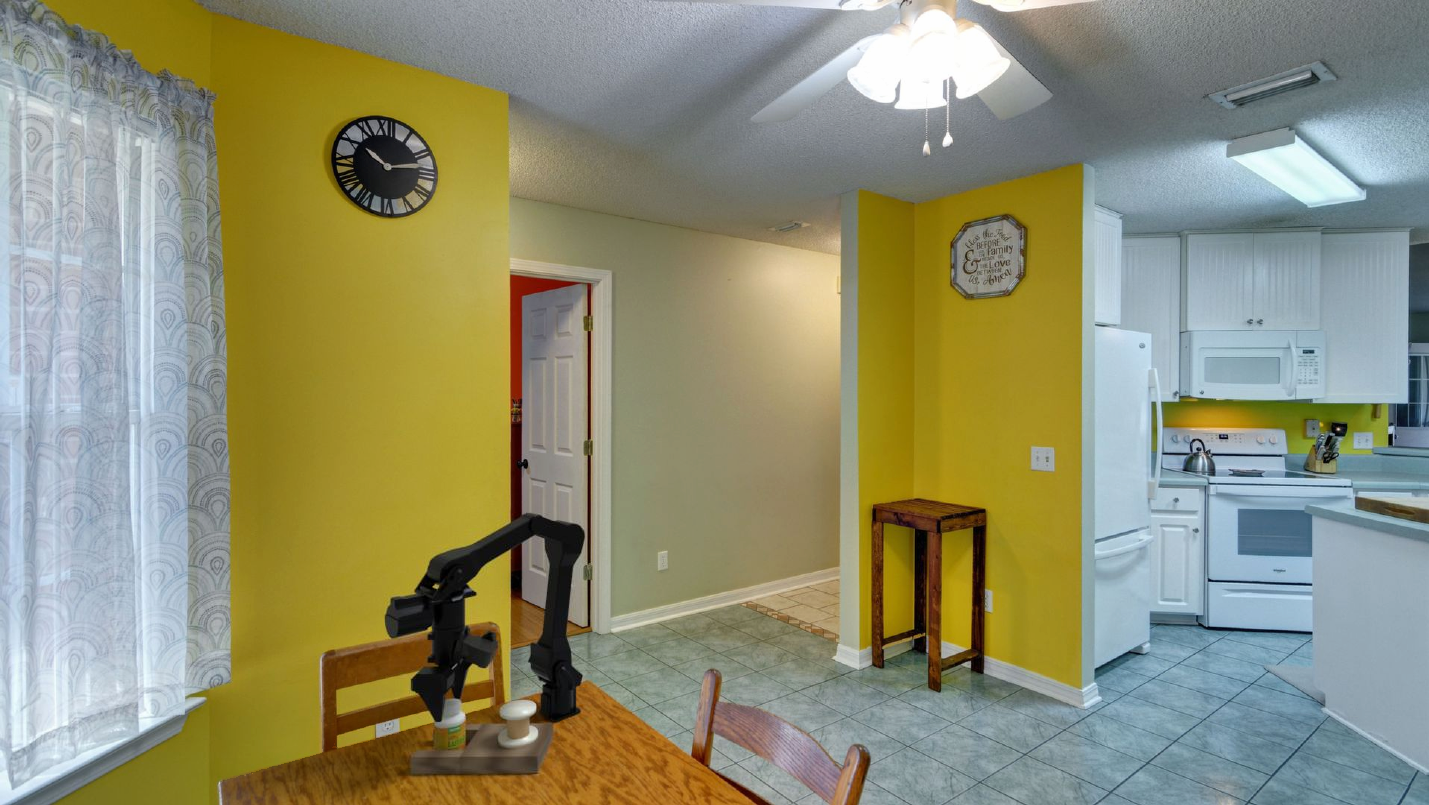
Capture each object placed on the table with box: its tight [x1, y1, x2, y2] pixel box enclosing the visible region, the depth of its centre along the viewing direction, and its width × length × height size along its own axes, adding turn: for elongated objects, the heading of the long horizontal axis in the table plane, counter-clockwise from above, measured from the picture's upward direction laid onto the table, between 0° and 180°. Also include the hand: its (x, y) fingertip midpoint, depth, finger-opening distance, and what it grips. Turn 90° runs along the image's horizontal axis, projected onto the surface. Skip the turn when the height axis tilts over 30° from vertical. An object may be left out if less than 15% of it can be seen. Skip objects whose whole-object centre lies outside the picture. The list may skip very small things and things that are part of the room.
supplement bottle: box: [433, 698, 467, 750], centre depth 124 cm, size 5×5×10 cm
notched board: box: [410, 722, 554, 775], centre depth 124 cm, size 22×12×3 cm, turn 91°
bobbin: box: [498, 699, 538, 749], centre depth 124 cm, size 7×7×6 cm
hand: (448, 710), depth 124 cm, fingers open, 9 cm apart
